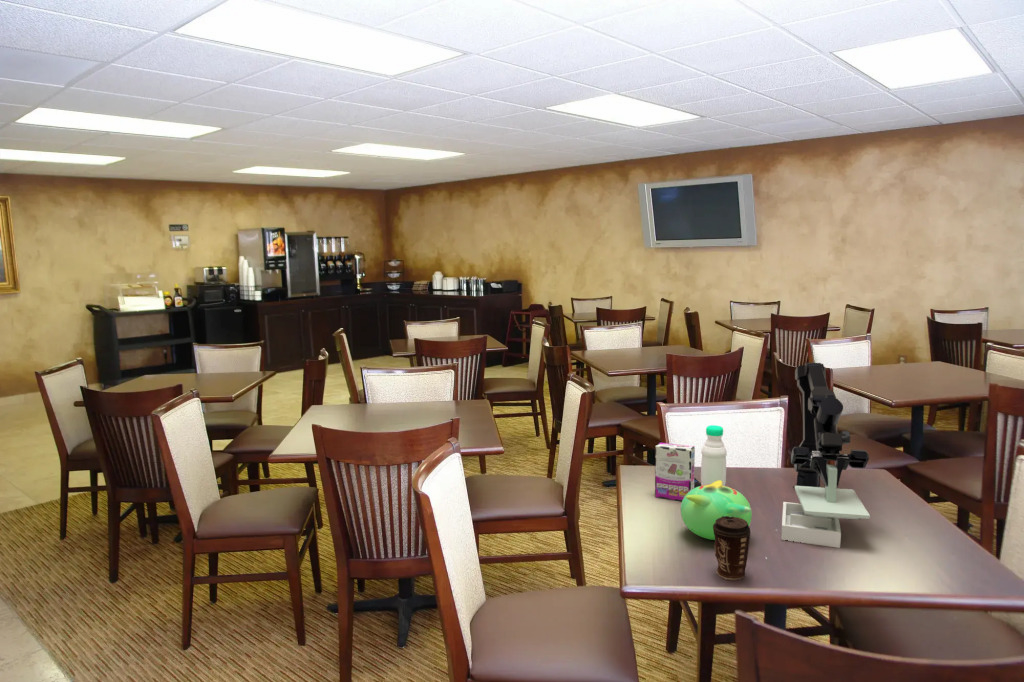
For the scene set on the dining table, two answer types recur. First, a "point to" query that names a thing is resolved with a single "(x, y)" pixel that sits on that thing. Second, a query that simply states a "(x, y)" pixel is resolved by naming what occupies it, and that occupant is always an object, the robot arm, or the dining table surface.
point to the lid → (831, 499)
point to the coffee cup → (731, 546)
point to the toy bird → (712, 507)
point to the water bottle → (713, 457)
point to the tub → (809, 527)
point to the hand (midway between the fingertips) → (832, 486)
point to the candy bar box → (674, 470)
